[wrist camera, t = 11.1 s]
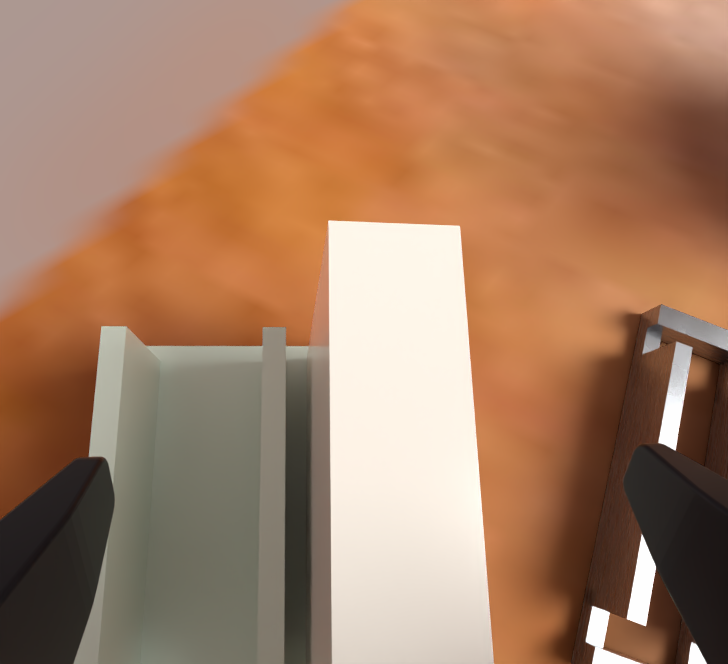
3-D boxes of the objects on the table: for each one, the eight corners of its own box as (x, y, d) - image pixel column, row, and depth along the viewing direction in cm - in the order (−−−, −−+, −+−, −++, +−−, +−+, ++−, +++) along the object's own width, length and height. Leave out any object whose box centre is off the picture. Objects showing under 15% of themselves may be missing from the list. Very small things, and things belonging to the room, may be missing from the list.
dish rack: (421, 699, 17) (473, 780, 12) (114, 726, 16) (41, 828, 11) (403, 352, 20) (439, 310, 15) (143, 353, 19) (94, 307, 14)
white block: (381, 694, 16) (518, 992, 7) (305, 700, 16) (334, 1021, 6) (371, 359, 19) (460, 225, 9) (306, 358, 19) (328, 220, 9)
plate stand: (686, 705, 18) (747, 737, 16) (570, 663, 18) (614, 689, 16) (736, 350, 22) (791, 333, 20) (641, 313, 22) (685, 292, 19)
